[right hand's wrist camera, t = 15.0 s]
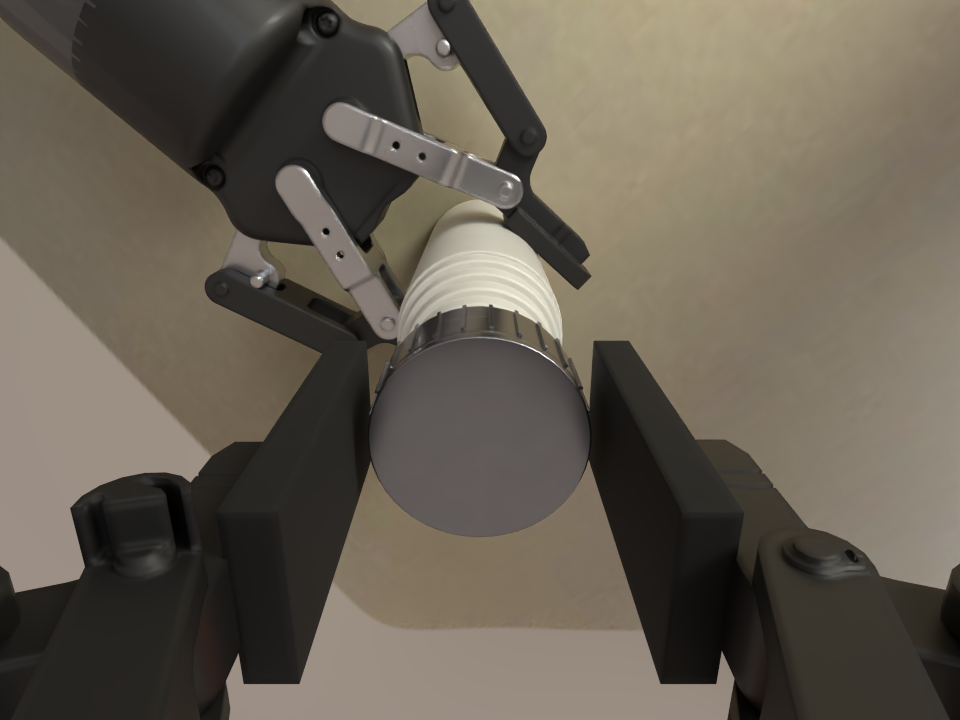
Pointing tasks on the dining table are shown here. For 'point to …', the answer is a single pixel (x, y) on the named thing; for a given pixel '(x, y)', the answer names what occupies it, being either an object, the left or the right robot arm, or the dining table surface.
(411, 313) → the bottle
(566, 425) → the cap
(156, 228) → the dining table surface
